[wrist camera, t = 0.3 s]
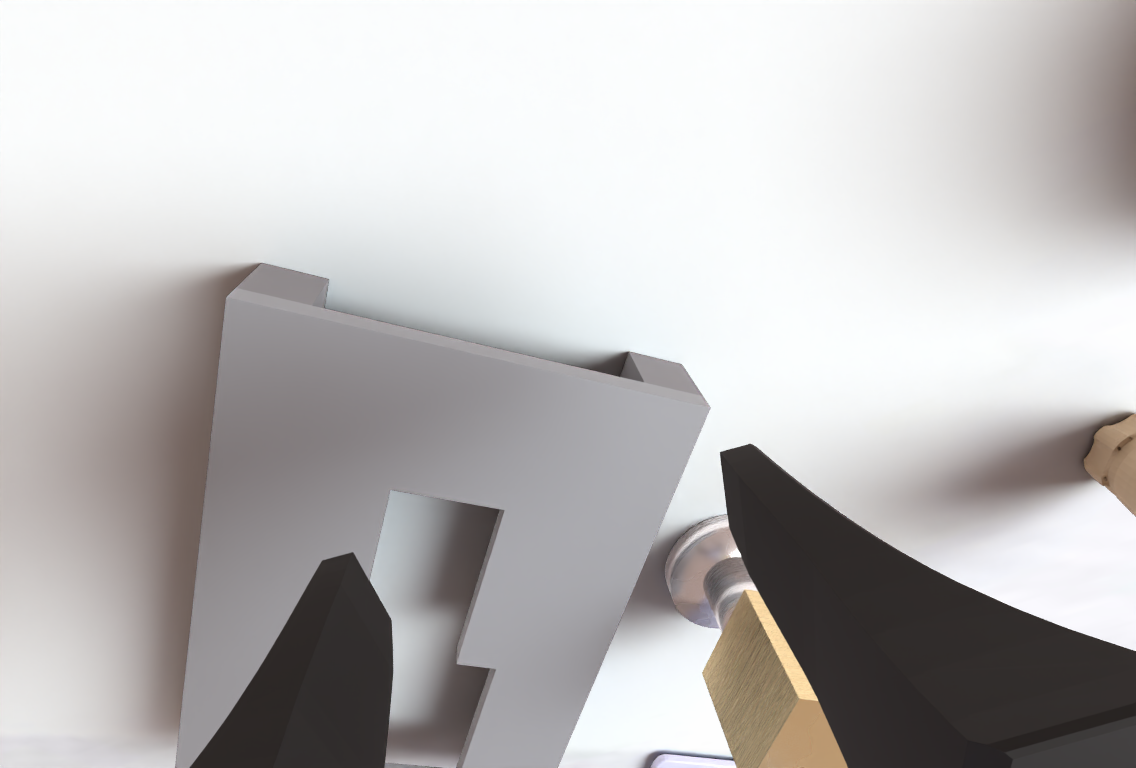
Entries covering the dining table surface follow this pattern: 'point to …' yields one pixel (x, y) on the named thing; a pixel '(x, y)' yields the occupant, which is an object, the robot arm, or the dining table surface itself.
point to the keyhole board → (435, 469)
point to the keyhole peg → (748, 657)
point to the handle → (1115, 460)
